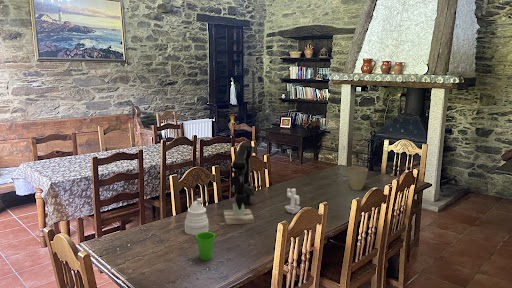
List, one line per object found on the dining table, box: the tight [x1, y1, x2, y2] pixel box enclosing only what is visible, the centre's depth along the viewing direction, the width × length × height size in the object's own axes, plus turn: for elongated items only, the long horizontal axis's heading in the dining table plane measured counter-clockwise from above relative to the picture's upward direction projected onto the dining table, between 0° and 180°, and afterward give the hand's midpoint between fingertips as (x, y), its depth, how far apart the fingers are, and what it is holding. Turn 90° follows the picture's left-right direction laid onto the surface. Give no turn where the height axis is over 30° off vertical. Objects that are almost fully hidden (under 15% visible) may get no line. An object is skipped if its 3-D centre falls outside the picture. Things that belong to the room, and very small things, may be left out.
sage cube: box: [232, 202, 245, 217], centre depth 230 cm, size 6×6×6 cm
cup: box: [195, 231, 216, 261], centre depth 180 cm, size 9×9×11 cm
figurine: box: [284, 188, 302, 215], centre depth 241 cm, size 7×9×15 cm
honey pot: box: [184, 198, 209, 236], centre depth 211 cm, size 13×13×18 cm
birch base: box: [223, 208, 255, 225], centre depth 230 cm, size 16×16×2 cm
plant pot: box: [347, 166, 369, 191], centre depth 293 cm, size 15×15×16 cm
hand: (238, 206), depth 229 cm, fingers open, 9 cm apart
